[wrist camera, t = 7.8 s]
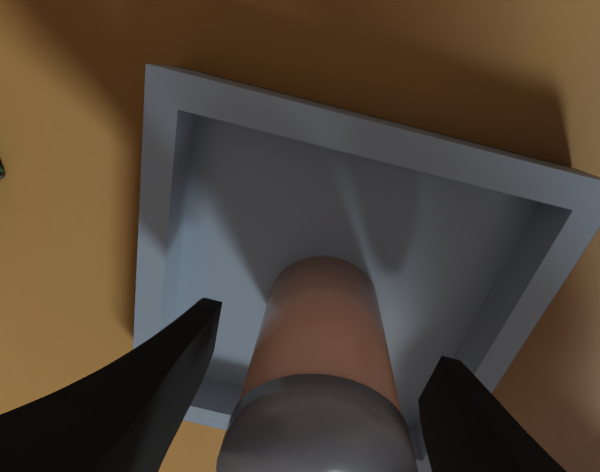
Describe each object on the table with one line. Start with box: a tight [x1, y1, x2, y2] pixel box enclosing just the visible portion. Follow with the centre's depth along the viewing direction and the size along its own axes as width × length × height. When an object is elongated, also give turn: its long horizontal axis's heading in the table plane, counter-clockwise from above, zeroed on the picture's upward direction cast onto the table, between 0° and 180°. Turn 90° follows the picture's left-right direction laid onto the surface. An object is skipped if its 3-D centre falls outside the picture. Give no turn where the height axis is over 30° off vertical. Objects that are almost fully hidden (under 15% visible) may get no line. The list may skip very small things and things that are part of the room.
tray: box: [133, 63, 600, 472], centre depth 14 cm, size 14×14×2 cm
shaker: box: [216, 256, 418, 472], centre depth 11 cm, size 5×5×7 cm
